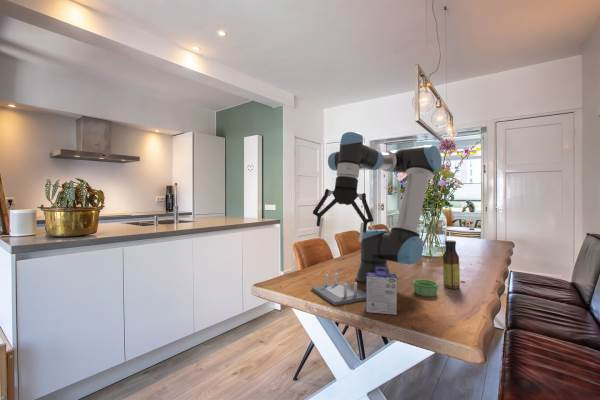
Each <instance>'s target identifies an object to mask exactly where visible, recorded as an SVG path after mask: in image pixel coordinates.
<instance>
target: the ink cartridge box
mask: <svg viewBox="0 0 600 400" xmlns="http://www.w3.org/2000/svg"><path fill="white" fill-rule="evenodd" d="M377 269H384V270H385V271H377ZM365 289H366V290H365V293H366V300H365V301H366V302H365V304H366V305H365V312H366V313H370V314H371V313H372V314H374V313H375V314H384V315H385V314H386V315H395V316H396V315H397V314H398V313H397V312H398V311H397V309H398V308H397V307H398V304H397V303H398V277H397V275H396V274H395V273H390V274H388V273H387V269H386V267H378V266H376V271H375V273H367V275H366V285H365Z"/></svg>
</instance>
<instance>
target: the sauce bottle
mask: <svg viewBox="0 0 600 400" xmlns="http://www.w3.org/2000/svg"><path fill="white" fill-rule="evenodd" d="M444 244H445V251H444V253H443V255H442V276H443V278H442V279H443V280H442V281H443V287H444V288H446V289H450V290H459V289H460V288H461V286H460V285H461V276H460V275H461V272H460V271H461V270H460V266H461V265H460V256H459V255H458V253H457V250H456V248H457V247H456V245H457V242H456V240H452V239H446V240H444Z"/></svg>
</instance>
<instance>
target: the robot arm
mask: <svg viewBox="0 0 600 400" xmlns="http://www.w3.org/2000/svg"><path fill="white" fill-rule="evenodd" d="M442 160H443V159H442V155H441V152H440V150H439V148H438V147H437V146H436V145H434V144H430V145H428V144H427V145H421V146H413V147H406V148H405V147H404V148H400V149H396V150H387V151H386V150H385V151H383V152H381V151H379V150H378V149H376V148H374V147H371V146H369V145H367V144H365V143H364V136H363V135H362V134H361V133H360V132H355V131H348V132H345V133H343V134H342V135H341V138H340V143H339V150H338V151H335V152H331V154H329V155H328V157H327V165H328V167H329V169H330V170H332V171H336V178H335V182H334V183H335V185H334V189H333V190H330V189H328V188H326V189H325V190H324V194H323V196H322V197H321V198H320V200H319V202H318V203H317V205H316V206H315V208H314V209H313V211H312V214H313V215H315V216H316V227H319V230H318V238H319V237H320V238H321V237H322V232H323V225H324V224H323V223H324V217H323V216H324V215H325V214H326V213H327V212H328V211H329V210H330V209H332V207H334V206H335V205H336V204H338V205H345V206H350V205H351V206H352V207H353V209H354V210H355V212H356V213H357V215H358V216H359V218H360V219H361V220H362V222H360V227H359V238H358V243H360V263H359V267H358V269H357V272H356V280H357V281H358V282H360V283H362V284H366V275H367V273H375V271H376V266H378V267H386V269H387V273H388V274H391V273H390V269H389V266H388V261H389V262H393V263H399V264H401V265H409V266H411V265H414V264H416V263H417V262H419V260H420V258H421V257H422V255H423V251H424V246H423V245H424V242H423V240H422V238H421V237H420V236H421V234H420V232H419V231H418V227H419V223H420V219H421V214H422V209H423V205H424V201H425V196H426V192H427V188H428V183H429V181H430V180H431V179H433V177H434V174H435V172H438V171H440V170H441V169H442V165H443V164H442V163H443V161H442ZM365 170H366V171H367V170H368V171H376V170H382V171H383V172H389V173H390V172H391V173H400V174H401V173H402V174H403V173H404V174H406V175H407V178H406V179H407V181H406V183H405V188H404V191H403V195H402V201H401V204H400V207H399V211H398V216H397V221H396V224H395V225H394V226H392V227H391V229H390V233H389V231H388V229H381V228H380V229H369V230H367V229H368V224H369V223H372V222H374V217H373V215H372V211H371V210H370V207H369V204H368V201H367V194H366V192H365V193H358V186H359V185H358V183H359V179H358V178H359V175H360V171H365ZM331 196H333V197H334V199H332V200H331V202H330V203H329V204H327V205H326V206H325V207H324V208H323V209H322V206H324V204H325V202H326V200H327V198H329V197H331ZM357 198H359V200H360V201H361V203H362V206H363V208H364V211H365V213H366V216H367V218H366V216H365V215H364V213H363V212H362V210H361V209H360V207H359V205H358V204H357V202H356V201H355V200H357ZM320 209H321V211H320ZM319 211H320V212H319ZM377 271H385V270H384V269H377Z"/></svg>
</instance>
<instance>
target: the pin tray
mask: <svg viewBox="0 0 600 400" xmlns="http://www.w3.org/2000/svg"><path fill="white" fill-rule="evenodd" d="M338 278H339V274H338V273H337V272H335V273H334V283H331V284H330V283H329V274H328V273H326V274H325V278H324V279H325V281H324V283H325V284H324V285H317V286H316V285H315V286H311V291H313V292H314V293H315V294H317V295H319V296H320V297H322V299H325V300H326V301H328V302H329V303H330V304H332V305H333V306H340V305H345V304H351V303H357V302H358V303H359V302H363V301H366V291H363V290H361V289H359V288H358V282H356V281H355V282H353V285H351V284H349V283H347V282H338Z"/></svg>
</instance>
